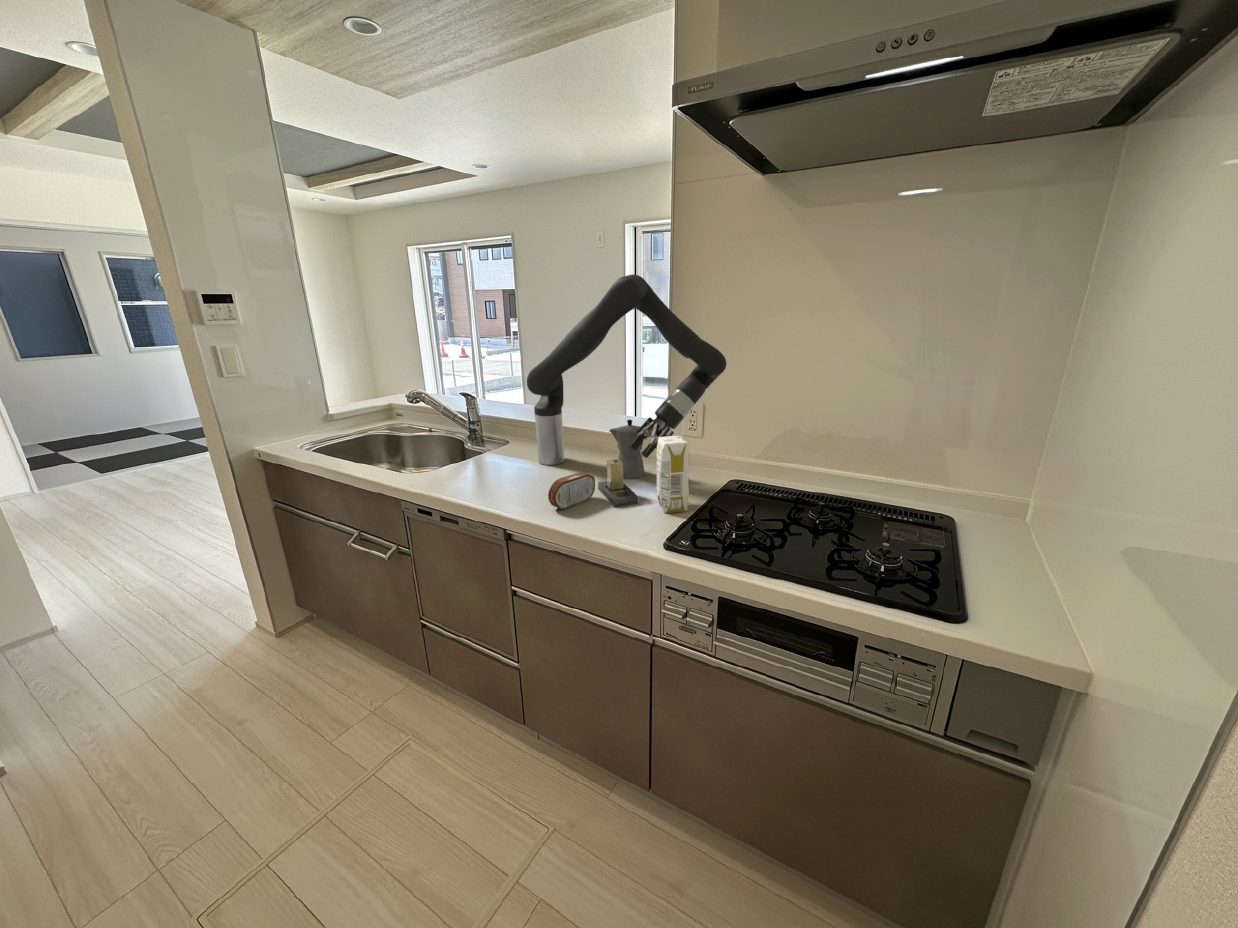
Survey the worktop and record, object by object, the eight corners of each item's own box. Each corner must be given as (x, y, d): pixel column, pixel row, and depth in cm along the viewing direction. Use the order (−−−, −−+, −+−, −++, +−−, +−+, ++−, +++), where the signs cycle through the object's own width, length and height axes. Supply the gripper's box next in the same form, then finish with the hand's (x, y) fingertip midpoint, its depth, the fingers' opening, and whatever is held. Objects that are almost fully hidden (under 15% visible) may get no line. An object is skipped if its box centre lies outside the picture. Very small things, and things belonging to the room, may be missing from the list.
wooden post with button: (606, 492, 142) (605, 460, 138) (620, 490, 143) (619, 458, 140) (610, 497, 138) (609, 463, 135) (624, 495, 140) (623, 461, 136)
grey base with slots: (598, 488, 145) (597, 482, 144) (620, 485, 147) (620, 479, 146) (614, 507, 132) (614, 500, 131) (638, 503, 134) (638, 496, 133)
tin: (590, 495, 140) (589, 467, 138) (597, 498, 138) (596, 470, 136) (548, 510, 130) (546, 481, 128) (555, 514, 128) (553, 484, 126)
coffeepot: (608, 478, 153) (606, 423, 147) (612, 468, 162) (610, 416, 156) (657, 479, 151) (657, 423, 146) (658, 469, 160) (658, 416, 154)
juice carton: (662, 515, 126) (662, 445, 120) (654, 502, 134) (654, 436, 128) (690, 512, 127) (692, 443, 121) (681, 500, 135) (682, 434, 129)
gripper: (656, 396, 144) (620, 437, 144) (677, 405, 131) (638, 450, 131) (672, 412, 147) (637, 452, 147) (694, 422, 134) (656, 466, 134)
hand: (637, 451), depth 139 cm, fingers open, 8 cm apart
